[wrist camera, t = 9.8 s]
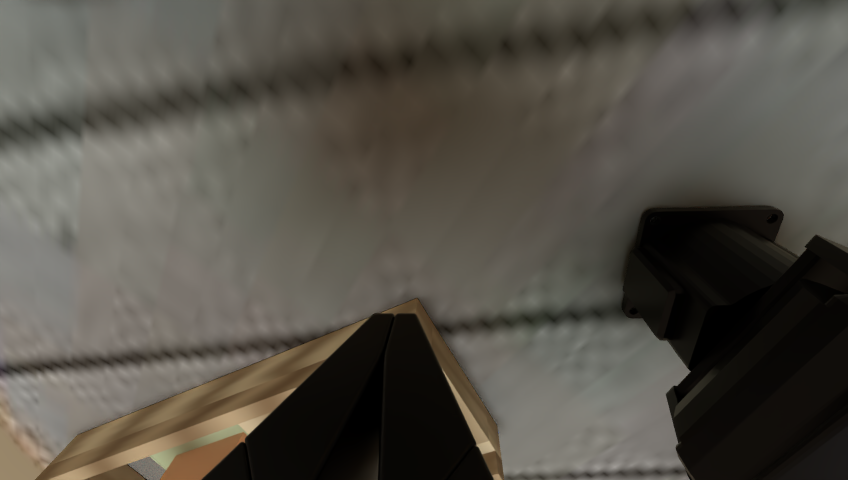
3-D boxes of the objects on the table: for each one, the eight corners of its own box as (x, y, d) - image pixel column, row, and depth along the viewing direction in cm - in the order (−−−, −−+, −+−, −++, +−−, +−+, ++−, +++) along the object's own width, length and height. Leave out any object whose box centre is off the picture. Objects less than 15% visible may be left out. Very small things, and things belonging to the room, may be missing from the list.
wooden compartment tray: (417, 298, 23) (411, 344, 20) (497, 426, 28) (504, 483, 24) (77, 435, 31) (28, 486, 27) (183, 518, 35) (153, 572, 32)
